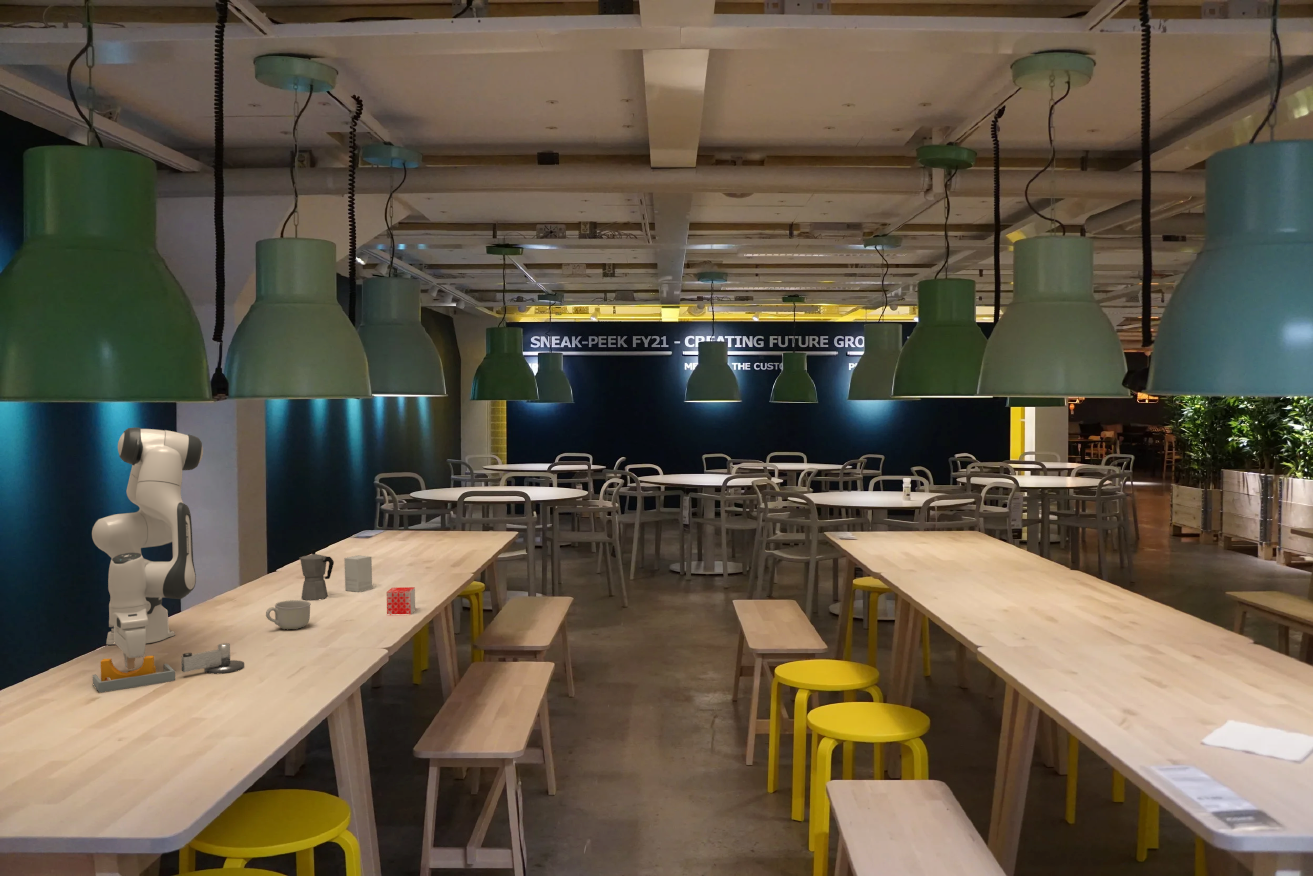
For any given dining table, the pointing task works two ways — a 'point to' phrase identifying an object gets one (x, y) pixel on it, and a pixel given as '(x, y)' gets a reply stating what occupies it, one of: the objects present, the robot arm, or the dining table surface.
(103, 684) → the bay
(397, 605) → the puzzle cube
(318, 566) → the coffeepot
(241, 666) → the crank base
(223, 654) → the crank
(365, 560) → the supplement box
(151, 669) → the pipe clamp
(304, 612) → the teacup
